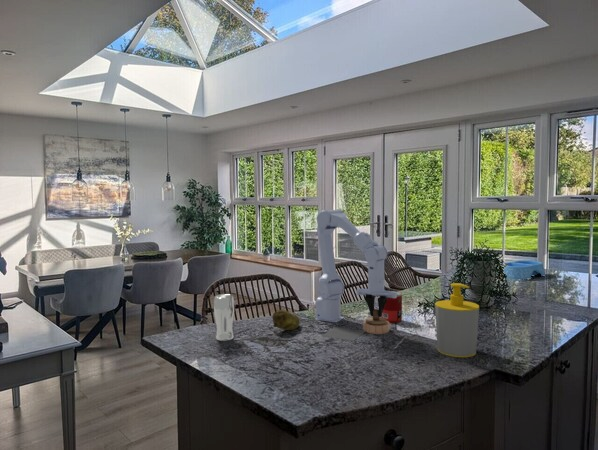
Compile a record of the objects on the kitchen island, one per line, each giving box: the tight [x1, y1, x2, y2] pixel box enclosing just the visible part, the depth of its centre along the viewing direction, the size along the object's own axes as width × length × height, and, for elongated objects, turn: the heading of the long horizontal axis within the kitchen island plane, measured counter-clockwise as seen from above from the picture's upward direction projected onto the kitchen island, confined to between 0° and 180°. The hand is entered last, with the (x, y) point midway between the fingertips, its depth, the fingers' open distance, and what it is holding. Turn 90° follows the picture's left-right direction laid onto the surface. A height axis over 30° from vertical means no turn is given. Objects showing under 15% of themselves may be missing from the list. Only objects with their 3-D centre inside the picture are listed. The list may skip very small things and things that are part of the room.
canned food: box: [380, 290, 403, 324], centre depth 170 cm, size 8×8×11 cm
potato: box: [271, 309, 300, 331], centre depth 160 cm, size 8×13×8 cm, turn 127°
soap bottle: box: [434, 282, 480, 358], centre depth 135 cm, size 13×13×21 cm
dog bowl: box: [504, 260, 546, 280], centre depth 264 cm, size 34×19×8 cm, turn 124°
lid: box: [365, 308, 387, 325], centre depth 156 cm, size 8×8×4 cm
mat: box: [321, 326, 367, 342], centre depth 153 cm, size 12×12×1 cm
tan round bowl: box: [362, 319, 391, 335], centre depth 157 cm, size 9×9×3 cm
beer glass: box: [213, 293, 235, 342], centre depth 151 cm, size 7×7×15 cm
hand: (376, 315), depth 157 cm, fingers closed on lid, 2 cm apart
